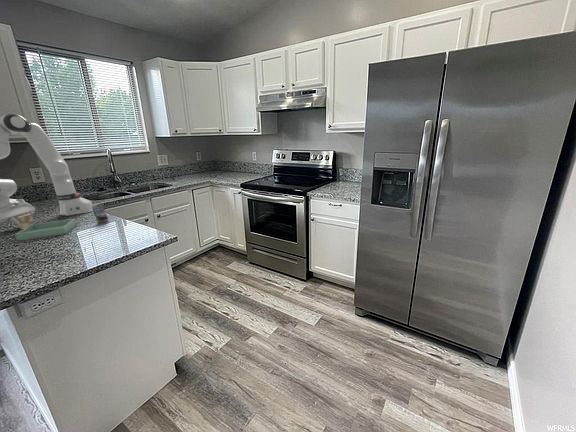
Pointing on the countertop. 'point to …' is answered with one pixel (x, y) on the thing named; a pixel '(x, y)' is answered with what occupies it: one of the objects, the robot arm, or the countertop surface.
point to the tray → (46, 229)
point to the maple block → (25, 220)
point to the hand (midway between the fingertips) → (25, 221)
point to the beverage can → (99, 212)
